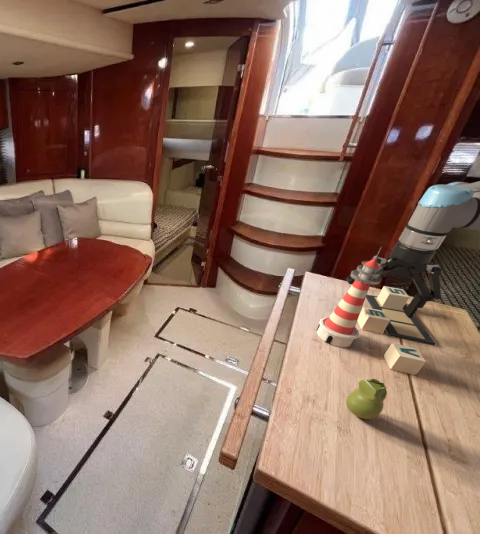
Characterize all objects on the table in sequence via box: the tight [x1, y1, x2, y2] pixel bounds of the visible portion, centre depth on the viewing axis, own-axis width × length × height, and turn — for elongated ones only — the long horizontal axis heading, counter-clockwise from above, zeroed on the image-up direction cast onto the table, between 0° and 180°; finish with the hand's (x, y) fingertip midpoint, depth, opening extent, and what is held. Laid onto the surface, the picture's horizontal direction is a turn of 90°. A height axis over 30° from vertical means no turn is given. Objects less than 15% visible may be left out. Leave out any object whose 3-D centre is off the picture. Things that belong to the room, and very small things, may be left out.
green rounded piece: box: [345, 378, 388, 420], centre depth 67 cm, size 6×5×10 cm
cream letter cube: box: [382, 342, 427, 376], centre depth 79 cm, size 5×5×5 cm
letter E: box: [357, 306, 390, 334], centre depth 92 cm, size 5×5×5 cm
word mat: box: [365, 294, 437, 346], centre depth 96 cm, size 10×22×1 cm, turn 156°
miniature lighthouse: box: [316, 246, 384, 348], centre depth 82 cm, size 9×9×30 cm
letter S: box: [377, 285, 410, 310], centre depth 100 cm, size 5×5×5 cm
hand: (377, 309), depth 90 cm, fingers open, 13 cm apart
